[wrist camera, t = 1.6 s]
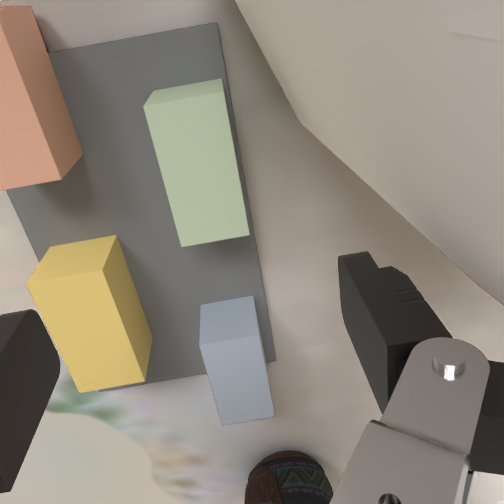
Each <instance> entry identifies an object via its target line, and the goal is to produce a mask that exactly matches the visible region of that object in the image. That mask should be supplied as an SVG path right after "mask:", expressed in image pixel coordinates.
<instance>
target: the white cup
mask: <svg viewBox="0 0 504 504" xmlns="http://www.w3.org/2000/svg"><path fill="white" fill-rule="evenodd" d="M468 504H504V475H498V474H491V473H484V472H476V471H475V474H474V479H473V483H472V487H471V492H470V496H469V501H468Z"/></svg>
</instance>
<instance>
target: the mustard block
mask: <svg viewBox="0 0 504 504" xmlns="http://www.w3.org/2000/svg"><path fill="white" fill-rule="evenodd" d="M26 286H27V288H28V290H29V292H30V294H31V296H32V298H33V300H34V302H35V304H36V306H37V308H38V310H39V312H40V314H41V316H42V318H43V320H44V322H45V324H46V326H47V328H48V330H49V332H50V334H51V336H52V338H53V340H54V342H55V344H56V346H57V348H58V350H59V352H60V354H61V356H62V358H63V360H64V362H65V364H66V366H67V368H68V370H69V372H70V374H71V376H72V378H73V380H74V382H75V384H76V386H77V389H78V391H79V393H82V392H88V391H94V390H99V389H105V388H111V387H116V386H122V385H128V384H134V383H139V382H145V379H146V373H147V367H148V362H149V356H150V350H151V345H152V339H153V337H152V334H151V332H150V329H149V326H148V323H147V320H146V317H145V314H144V312H143V309H142V306H141V303H140V300H139V297H138V294H137V292H136V289H135V286H134V283H133V280H132V277H131V274H130V272H129V269H128V266H127V263H126V260H125V257H124V254H123V252H122V249H121V246H120V243H119V240H118V237H117V235H113V236H107V237H102V238H96V239H91V240H85V241H79V242H74V243H68V244H63V245H57V246H51V247H50V248H49V249H48V251H47V252H46V254H45V255H44V257H43V258H42V260H41V261H40V263H39V264H38V266H37V267H36V269H35V270H34V272H33V273H32V275H31V276H30V278H29V279H28V281H27V282H26Z"/></svg>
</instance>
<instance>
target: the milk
mask: <svg viewBox="0 0 504 504" xmlns="http://www.w3.org/2000/svg"><path fill="white" fill-rule="evenodd" d="M235 2H236V4H237V6H238V8H239V9H240V11H241V13H242V15H243V17H244V19H245V21H246V22H247V24H248V26H249V28H250V30H251V32H252V34H253V35H254V37H255V39H256V41H257V43H258V45H259V47H260V48H261V50H262V52H263V54H264V56H265V58H266V60H267V62H268V63H269V65H270V67H271V69H272V71H273V73H274V75H275V76H276V78H277V80H278V82H279V84H280V86H281V88H282V89H283V91H284V93H285V95H286V97H287V99H288V101H289V102H290V104H291V106H292V108H293V110H294V112H295V114H296V115H297V117H298V119H299V121H300V123H301V124H302V125H303V126H304V127H305V128H306V129H307V130H308V131H310V132H311V133H312V134H313V135H314V136H315V137H316V138H317V139H318V140H319V141H320V142H322V143H323V144H324V145H325V146H326V147H327V148H328V149H329V150H330V151H331V152H333V153H334V154H335V155H336V156H337V157H338V158H339V159H340V160H341V161H342V162H344V163H345V164H346V165H347V166H348V167H349V168H350V169H351V170H352V171H353V172H354V173H356V174H357V175H358V176H359V177H360V178H361V179H362V180H363V181H364V182H365V183H367V184H368V185H369V186H370V187H371V188H372V189H373V190H374V191H375V192H376V193H378V194H379V195H380V196H381V197H382V198H383V199H384V200H385V201H386V202H387V203H388V204H390V205H391V206H392V207H393V208H394V209H395V210H396V211H397V212H398V213H399V214H401V215H402V216H403V217H404V218H405V219H406V220H407V221H408V222H409V223H410V224H412V225H413V226H414V227H415V228H416V229H417V230H418V231H419V232H420V233H421V234H422V235H424V236H425V237H426V238H427V239H428V240H429V241H430V242H431V243H432V244H433V245H435V246H436V247H437V248H438V249H439V250H440V251H441V252H442V253H443V254H444V255H446V256H447V257H448V258H449V259H450V260H451V261H452V262H453V263H454V264H455V265H456V266H458V267H459V268H460V269H461V270H462V271H463V272H464V273H465V274H466V275H467V276H469V277H470V278H471V279H472V280H473V281H474V282H475V283H476V284H477V285H478V286H480V287H481V288H482V289H483V290H485V291H486V292H487V293H489V294H490V295H491V296H493V297H494V298H495V299H497V300H498V301H499V302H500V303H502V304H504V0H235Z"/></svg>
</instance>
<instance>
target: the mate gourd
mask: <svg viewBox="0 0 504 504" xmlns="http://www.w3.org/2000/svg"><path fill="white" fill-rule="evenodd" d="M324 473H325V472H324V470H323V469H322V467H321V466H320V465H319V464H318V463H317V462H316V461H315V460H314V459H312V458H311V457H309V456H307V455H304V454H302V453H300V452H295V451H281V452H277V453H274V454H272V455H270V456H268V457H266V458H265V459H264V460H262V461H261V462H260V463H258V464H257V465H256V466H255V467H254V469H253V470H252V471H251V472H250V475H249V478H248V483H247V487H246V491H245V504H258V503H264V502H270V501H272V504H329V503H330V501H331V499H332V497H333V491H332V487H331V485H330V483H329V481H328V479H327V477H326V475H325V474H324Z"/></svg>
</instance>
